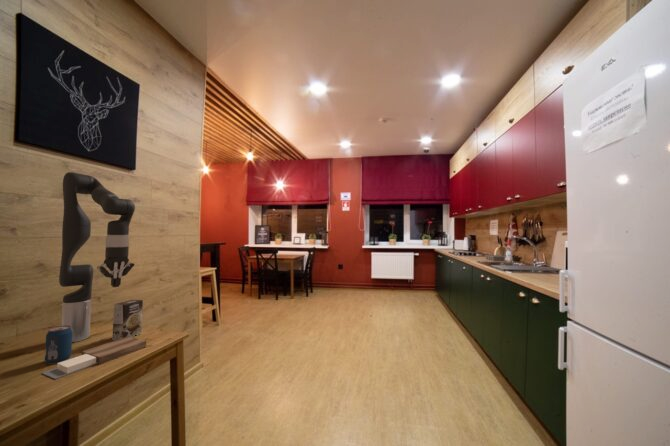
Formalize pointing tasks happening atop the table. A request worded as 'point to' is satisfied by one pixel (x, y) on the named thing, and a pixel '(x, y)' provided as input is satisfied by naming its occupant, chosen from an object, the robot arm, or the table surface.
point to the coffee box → (127, 319)
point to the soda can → (58, 344)
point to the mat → (61, 372)
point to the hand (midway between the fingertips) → (115, 286)
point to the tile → (76, 363)
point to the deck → (115, 349)
